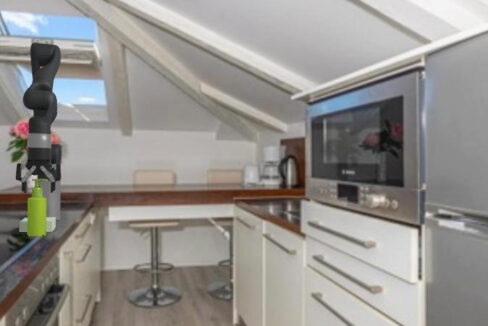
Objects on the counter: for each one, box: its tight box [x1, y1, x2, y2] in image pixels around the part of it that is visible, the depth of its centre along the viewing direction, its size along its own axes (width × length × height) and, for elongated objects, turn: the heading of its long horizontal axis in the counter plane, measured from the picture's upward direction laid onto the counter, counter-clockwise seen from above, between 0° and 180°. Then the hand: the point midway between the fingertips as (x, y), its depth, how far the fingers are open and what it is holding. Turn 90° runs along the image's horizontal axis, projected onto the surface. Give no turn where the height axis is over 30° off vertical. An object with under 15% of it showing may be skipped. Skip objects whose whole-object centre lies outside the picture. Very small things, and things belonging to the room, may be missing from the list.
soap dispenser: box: [26, 178, 50, 237], centre depth 144 cm, size 6×7×20 cm
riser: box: [18, 217, 57, 233], centre depth 154 cm, size 10×11×4 cm
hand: (38, 192), depth 144 cm, fingers open, 8 cm apart
